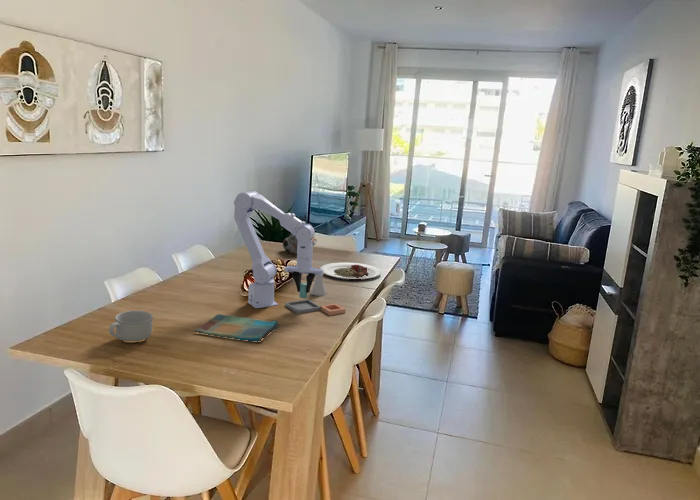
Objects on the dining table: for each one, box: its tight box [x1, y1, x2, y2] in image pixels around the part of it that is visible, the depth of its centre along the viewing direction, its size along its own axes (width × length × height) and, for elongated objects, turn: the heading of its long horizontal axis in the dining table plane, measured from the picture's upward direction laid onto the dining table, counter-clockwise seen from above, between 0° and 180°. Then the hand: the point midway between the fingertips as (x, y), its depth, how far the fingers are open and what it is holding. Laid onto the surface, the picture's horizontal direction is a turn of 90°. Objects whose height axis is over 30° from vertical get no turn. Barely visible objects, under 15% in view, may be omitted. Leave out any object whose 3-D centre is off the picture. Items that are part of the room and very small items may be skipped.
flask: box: [310, 274, 328, 297], centre depth 217 cm, size 7×7×10 cm
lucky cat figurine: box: [282, 232, 318, 255], centre depth 289 cm, size 17×14×16 cm
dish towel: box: [194, 314, 280, 342], centre depth 174 cm, size 17×23×2 cm
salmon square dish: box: [319, 303, 347, 316], centre depth 196 cm, size 7×7×2 cm
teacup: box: [108, 310, 154, 341], centre depth 159 cm, size 14×11×8 cm
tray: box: [284, 299, 321, 315], centre depth 198 cm, size 10×10×2 cm
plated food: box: [319, 261, 382, 280], centre depth 253 cm, size 30×30×3 cm
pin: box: [299, 282, 308, 299], centre depth 197 cm, size 3×3×5 cm
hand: (303, 291), depth 197 cm, fingers closed on pin, 3 cm apart
